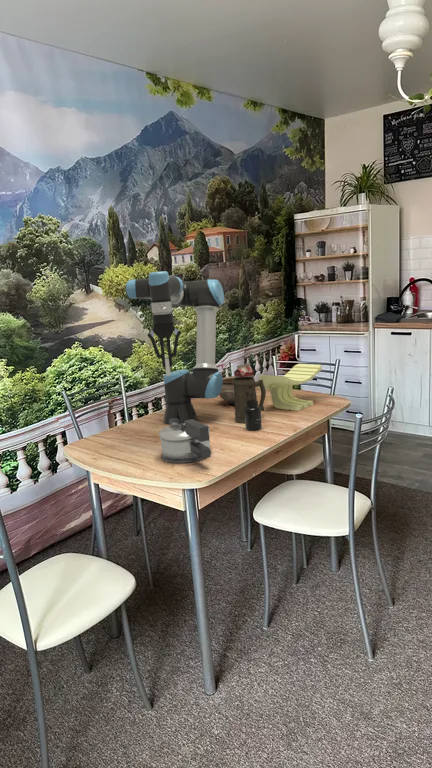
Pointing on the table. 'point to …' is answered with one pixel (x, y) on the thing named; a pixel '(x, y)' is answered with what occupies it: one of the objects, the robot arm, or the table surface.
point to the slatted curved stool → (290, 386)
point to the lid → (185, 431)
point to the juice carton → (243, 371)
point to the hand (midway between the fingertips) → (168, 375)
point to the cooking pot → (228, 390)
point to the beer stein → (246, 395)
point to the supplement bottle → (253, 416)
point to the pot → (185, 451)
